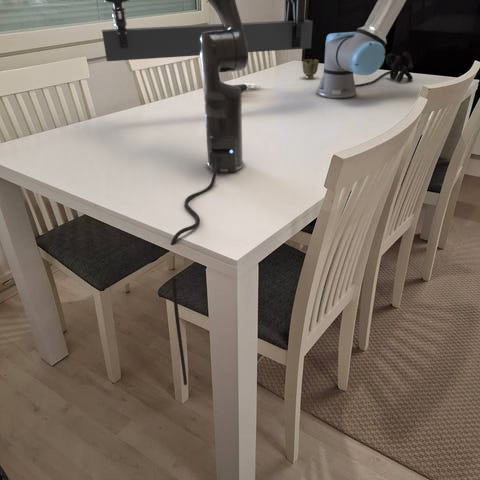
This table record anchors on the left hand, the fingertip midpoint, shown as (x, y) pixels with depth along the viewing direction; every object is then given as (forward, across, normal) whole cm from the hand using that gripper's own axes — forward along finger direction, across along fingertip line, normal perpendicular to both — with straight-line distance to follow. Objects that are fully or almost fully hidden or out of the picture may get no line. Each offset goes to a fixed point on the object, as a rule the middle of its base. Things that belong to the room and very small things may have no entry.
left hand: (123, 46), depth 138 cm
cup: (+25, +46, -82) cm, 98 cm away
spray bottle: (+25, +30, -43) cm, 58 cm away
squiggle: (+26, +29, -119) cm, 125 cm away
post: (+4, 0, -28) cm, 28 cm away
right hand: (+3, 0, -56) cm, 56 cm away
